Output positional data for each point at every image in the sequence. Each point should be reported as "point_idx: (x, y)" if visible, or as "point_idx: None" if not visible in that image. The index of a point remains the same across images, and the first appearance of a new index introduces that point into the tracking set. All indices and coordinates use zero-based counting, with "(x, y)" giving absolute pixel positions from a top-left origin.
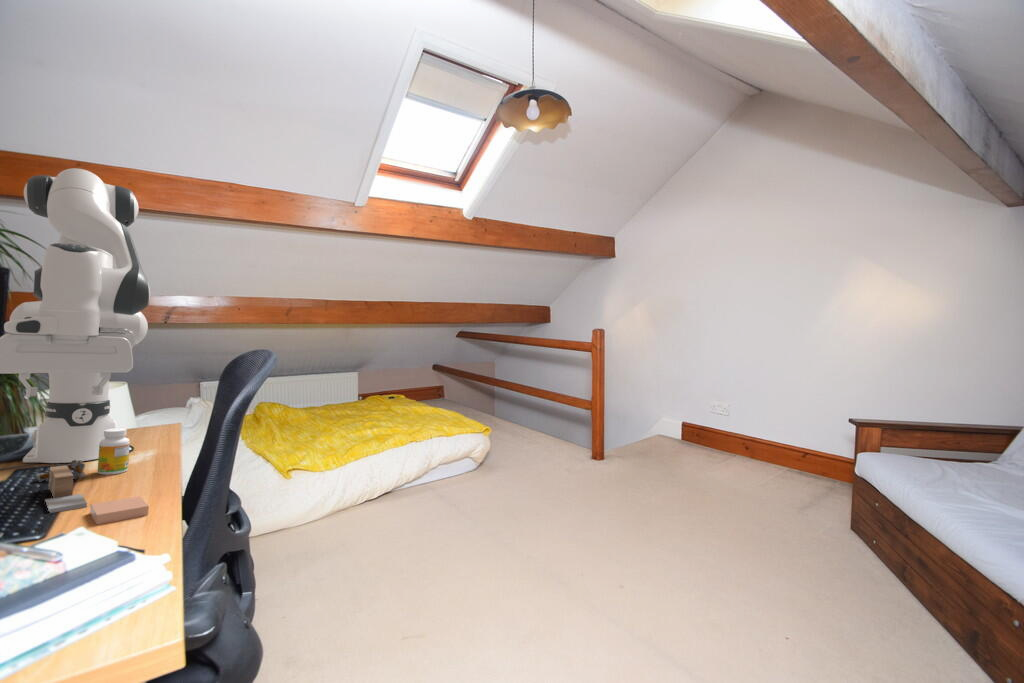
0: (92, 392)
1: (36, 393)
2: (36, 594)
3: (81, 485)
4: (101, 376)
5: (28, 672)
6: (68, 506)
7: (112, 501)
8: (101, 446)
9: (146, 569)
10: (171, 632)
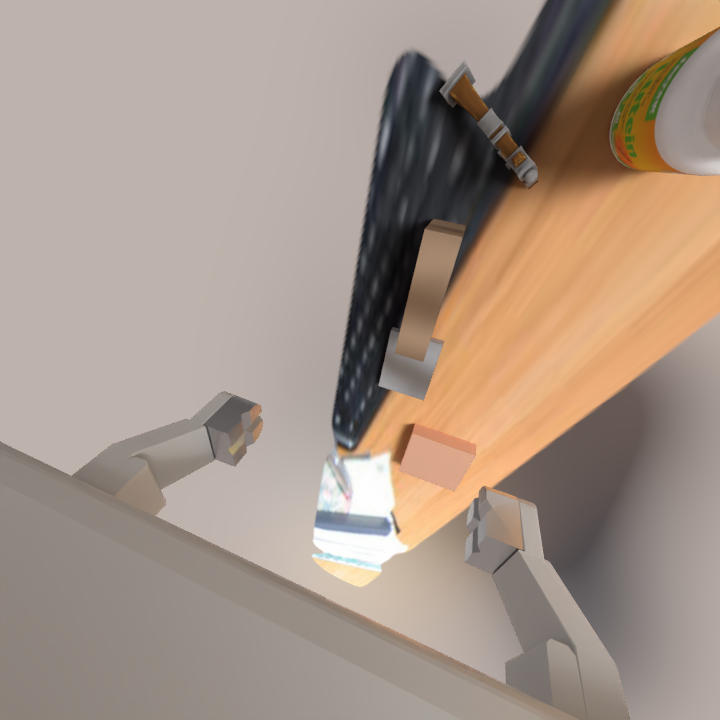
0: (479, 503)
1: (248, 443)
2: (328, 521)
3: (494, 241)
4: (513, 668)
5: (314, 560)
6: (400, 392)
7: (436, 446)
8: (655, 120)
9: (384, 549)
10: (362, 586)
